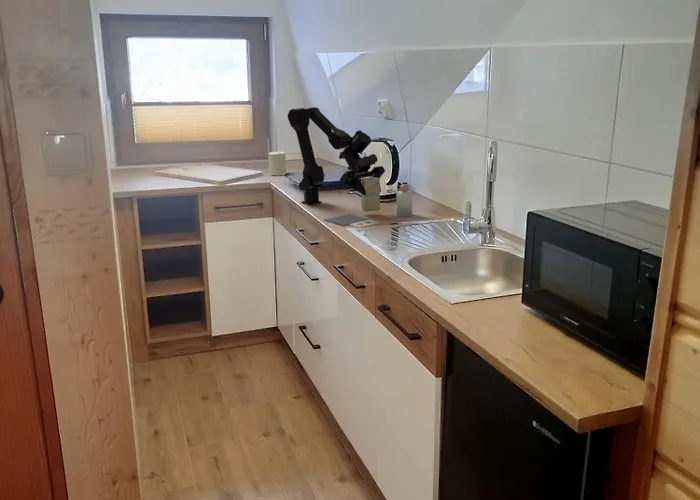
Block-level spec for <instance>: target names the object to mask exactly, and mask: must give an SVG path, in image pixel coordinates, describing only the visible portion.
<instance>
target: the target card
mask: <svg viewBox="0 0 700 500" xmlns="http://www.w3.org/2000/svg"><path fill="white" fill-rule="evenodd" d="M379 224H380V223H379V222H377V221H374V220H370V219H369V220H365V221H361V222H356V223H352V224H349V225H348V226H352V227H355V228H358V229H360V228H366V227H369V226H375V225H379Z"/></svg>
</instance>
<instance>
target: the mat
mask: <svg viewBox="0 0 700 500" xmlns="http://www.w3.org/2000/svg"><path fill="white" fill-rule="evenodd" d="M365 220H370V219H369V218H366V217H362V216H358V215H354V214H351V213H346V214H344V215H338V216H331V217H328V218H324V219H323V221H325V222H328V223H332V224H335V225H339V226H342V227H346V226H350V225H349V224H352V223H356V222H361V221H365Z"/></svg>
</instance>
